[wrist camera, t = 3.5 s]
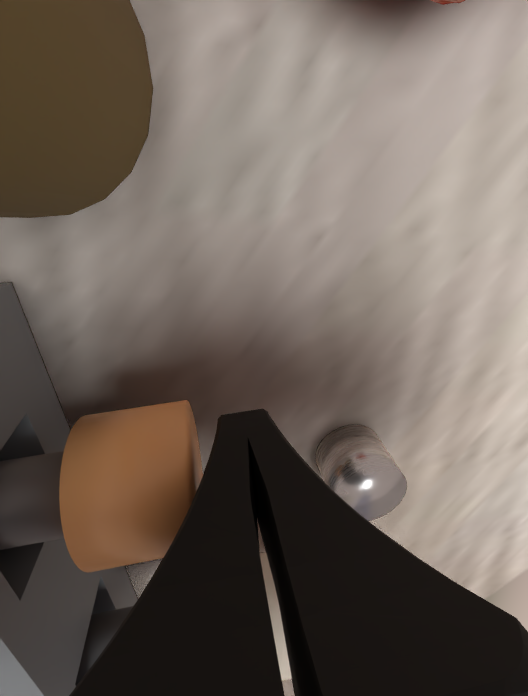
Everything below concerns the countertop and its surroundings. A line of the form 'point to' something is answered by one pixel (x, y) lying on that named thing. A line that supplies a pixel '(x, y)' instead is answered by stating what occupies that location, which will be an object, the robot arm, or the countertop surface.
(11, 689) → the mount
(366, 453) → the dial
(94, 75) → the cork
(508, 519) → the countertop surface
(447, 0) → the pomegranate
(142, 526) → the orange knob
